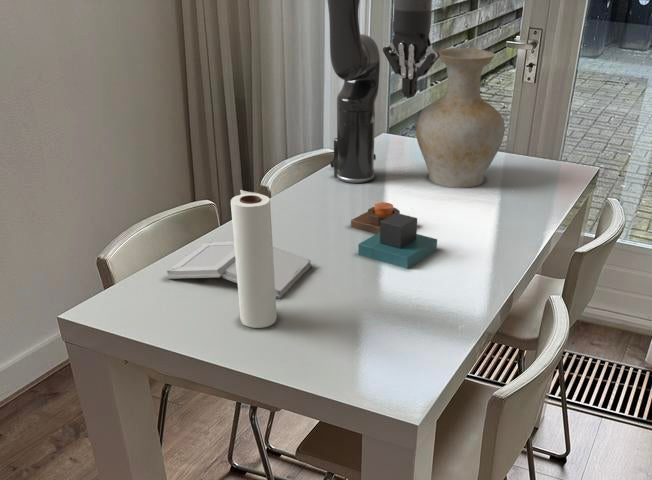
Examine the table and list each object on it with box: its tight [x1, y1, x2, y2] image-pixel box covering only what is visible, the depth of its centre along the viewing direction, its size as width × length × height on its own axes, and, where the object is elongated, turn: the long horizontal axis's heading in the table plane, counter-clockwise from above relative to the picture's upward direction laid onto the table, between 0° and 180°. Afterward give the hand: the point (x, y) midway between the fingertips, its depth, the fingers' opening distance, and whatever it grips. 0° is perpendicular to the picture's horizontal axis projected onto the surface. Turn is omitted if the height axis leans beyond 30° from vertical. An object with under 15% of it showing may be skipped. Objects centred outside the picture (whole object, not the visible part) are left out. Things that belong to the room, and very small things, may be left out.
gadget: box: [166, 241, 312, 299], centre depth 145 cm, size 23×15×4 cm, turn 73°
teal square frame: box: [357, 232, 438, 270], centre depth 156 cm, size 12×12×2 cm
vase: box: [415, 47, 506, 189], centre depth 189 cm, size 22×22×30 cm
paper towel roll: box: [230, 189, 278, 329], centre depth 125 cm, size 7×6×21 cm
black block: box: [380, 213, 418, 248], centre depth 155 cm, size 5×6×7 cm
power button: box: [374, 202, 394, 215], centre depth 166 cm, size 4×4×2 cm
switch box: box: [350, 206, 401, 235], centre depth 167 cm, size 11×9×4 cm
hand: (409, 96), depth 164 cm, fingers closed
